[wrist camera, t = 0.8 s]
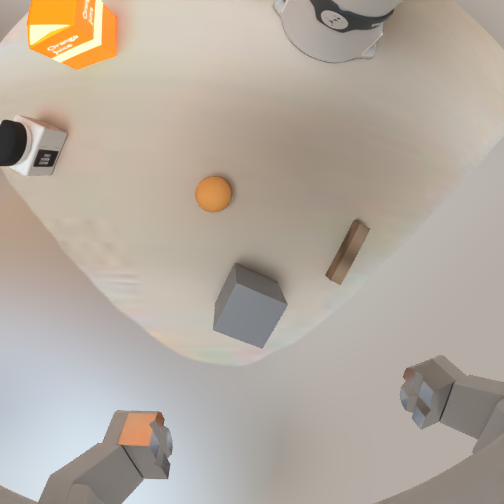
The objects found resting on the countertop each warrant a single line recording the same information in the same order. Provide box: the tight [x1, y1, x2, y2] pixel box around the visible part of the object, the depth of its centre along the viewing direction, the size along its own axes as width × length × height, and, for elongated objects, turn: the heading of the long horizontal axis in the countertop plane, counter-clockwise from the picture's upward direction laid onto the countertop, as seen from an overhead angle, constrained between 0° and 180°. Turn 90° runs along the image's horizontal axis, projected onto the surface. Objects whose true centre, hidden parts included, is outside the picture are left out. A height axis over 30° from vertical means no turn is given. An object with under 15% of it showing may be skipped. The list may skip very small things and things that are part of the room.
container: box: [0, 115, 67, 176], centre depth 31 cm, size 8×8×13 cm
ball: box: [195, 176, 231, 212], centre depth 40 cm, size 5×5×5 cm
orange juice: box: [27, 0, 116, 70], centre depth 25 cm, size 8×9×20 cm
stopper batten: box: [326, 221, 370, 285], centre depth 45 cm, size 10×2×2 cm, turn 154°
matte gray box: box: [213, 264, 288, 348], centre depth 42 cm, size 7×7×9 cm
